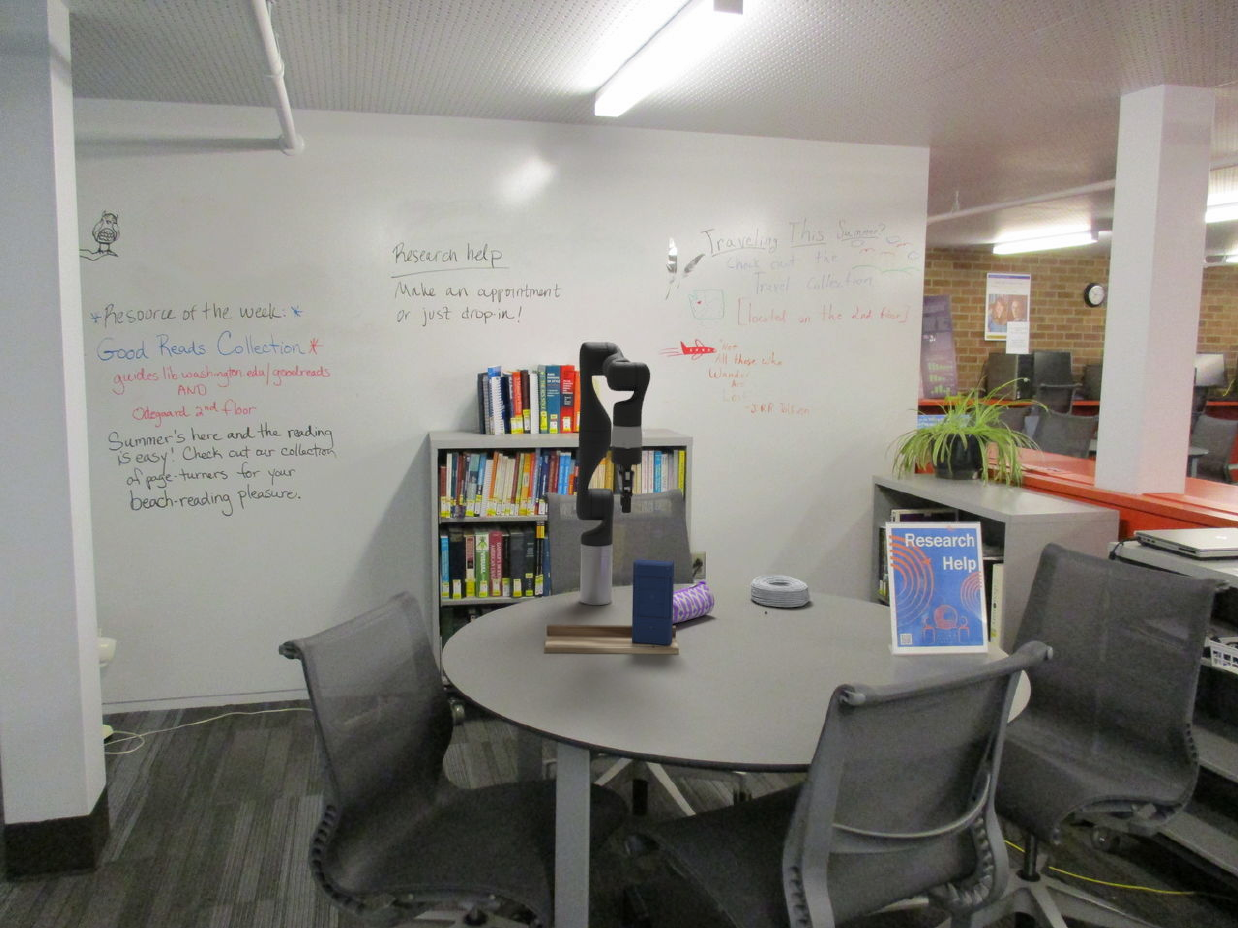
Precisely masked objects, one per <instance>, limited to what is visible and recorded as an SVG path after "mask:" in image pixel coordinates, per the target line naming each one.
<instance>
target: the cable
mask: <svg viewBox="0 0 1238 928" xmlns="http://www.w3.org/2000/svg"><path fill="white" fill-rule="evenodd" d="M749 592H750V594H749V595H750V598H751V600H752V601H755V602H756V603H757V604H758V603H759V605H762V606H767V607H775V608H776V607H777V608H778V607H779V608H796V607H803V606H804V605H806V604H808V602H809V601H810V598H811V597H810V596H811V595H810V591H809V586H808V585H807V583H806V582H804V581H803V580H800V579H798V578H796V577H792V576H789V575H780V574H763V575H760V576H757V577H755V578H754V579H753V580H752V581H751V583H750V590H749Z"/></svg>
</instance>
